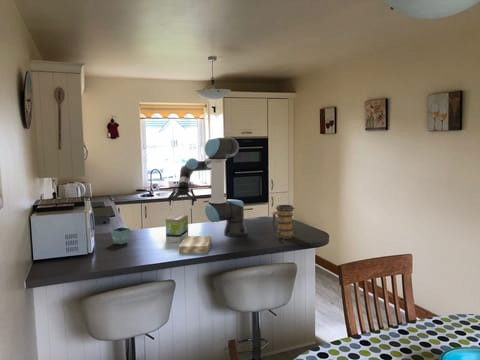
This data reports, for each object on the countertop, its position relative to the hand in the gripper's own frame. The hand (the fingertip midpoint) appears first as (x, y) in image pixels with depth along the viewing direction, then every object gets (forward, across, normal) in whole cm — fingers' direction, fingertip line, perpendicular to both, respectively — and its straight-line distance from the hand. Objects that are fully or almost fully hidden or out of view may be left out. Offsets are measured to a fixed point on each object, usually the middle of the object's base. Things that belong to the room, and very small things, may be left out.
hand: (180, 209), depth 253 cm
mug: (+21, -68, -3) cm, 71 cm away
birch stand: (+36, -15, +12) cm, 41 cm away
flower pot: (+28, +34, +4) cm, 44 cm away
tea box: (+22, 0, -2) cm, 23 cm away
